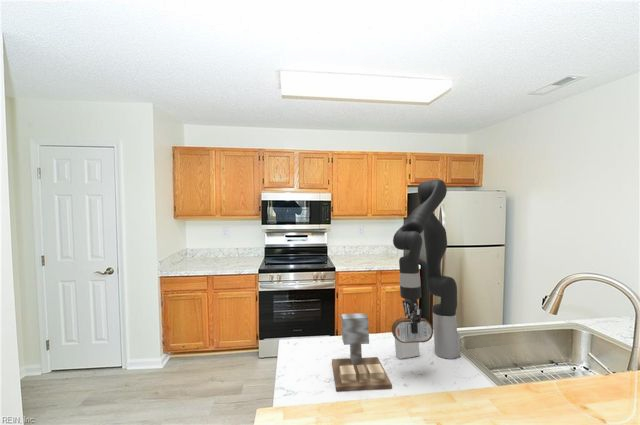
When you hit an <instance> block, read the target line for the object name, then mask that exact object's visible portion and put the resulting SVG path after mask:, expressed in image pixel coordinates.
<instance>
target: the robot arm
mask: <svg viewBox="0 0 640 425" xmlns="http://www.w3.org/2000/svg"><path fill="white" fill-rule="evenodd" d="M447 190H448V189H447V185H446V183H445V181H444V180H442V179H433V180H428V181H422V182H419V184H418V186H417V197H418V202H419V205H418V206H417V207H416V208H415V209H413V211H412V212H410V215H409V217H408V218H407V221H406V222H405V223H403V224H402V226H401V227H399V228H398V230H396V232H395V233H394V235H393V239H392V244H393V246H394V247H395V249H397V250H400V251H401V250H402V251H403V250H404V251H408V255H405V256H401V257H400V258H399V261H398V263H399V264H398V265H399V266H398V267H399V278H398V280H399V296H400V297H401V298H402V299H403V300H402V301H401V303H402V307H403V313H404V315H405V317H406V318H410V320H411V332H412V333H413V334H417V333H418V324H417V323H420V320H421V318H422V315H423V314H422V313H423V310H422V308H420V307H419V303H418V300H419V299H421V298H422V284H421V282H422V281H421V276H420V266H419V265H420V264H419V262H420V255H421V250H422V245H423V240H424V247H425V257H426V258H425V259H426V287H427V290H428V292H429V293H430V294H431V295H432V296H435V297H439V298H440V303H436V304H433V306H432V321H433V323H432V324H433V325H432V327H433V340H434V342H433V343H434V353H435V355H436V356H438V357H440V358H441V359H448V360H449V359H450V360H452V359H458V358H459V357H461V356H462V355H461V341H460V339H461V338H460V333H459V332H458V326H457V325H458V324H457V308H458V285H457V283H456V280H455V279H454V278H453V277H451V276H448V275H447V276H445V275H442V274H441V272H442V271H441V263H442V259H443V257H444V256H445V253H446V251H447V248H448V239H447V238H448V237H447V230H446V228H445V226H444V225H443V224H442V222H441V221H440V220H439V219H438V217H437V216H436V214H435V211H436V209H437V208H438V207H439V206H440V205H441V203H442V202H443V201H444V199H445V198H446V196H447V192H448V191H447ZM422 233H423V238H422V235H421V234H422ZM415 319H416V320H415Z"/></svg>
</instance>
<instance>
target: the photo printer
mask: <svg viewBox="0 0 640 425" xmlns="http://www.w3.org/2000/svg"><path fill="white" fill-rule="evenodd" d="M394 344H395V345H394V347H395V355H396V356H395V357H396V358H397V359H399V360H402V359H408V358H414V357H419V356H420V343H402V342H400V341H398V340H397V339H396V338H395V337H394Z"/></svg>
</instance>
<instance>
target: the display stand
mask: <svg viewBox="0 0 640 425" xmlns="http://www.w3.org/2000/svg"><path fill="white" fill-rule="evenodd" d="M341 338H342V343H343V345H344V346H347V345H349V354H350V356H349V357H350V358H332V359H331V361H332V362H331V364H332V371H333V376H334V382H335V388H336V392H354V391H355V392H356V391H358V392H359V391H375V390H376V391H377V390H392V389H393V383H392V382H391V379H390V378H389V376H388V374H387V373H386V370H385V368H384V367H383V365H382V362H381V361H380V359H379V357H378V356H372V357H371V356H370V357H362V355H363V354H362V353H363V352H362V345H368V344H370V331H369V317H368V315H367V314H366V312H363V313H342V314H341Z"/></svg>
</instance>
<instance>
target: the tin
mask: <svg viewBox="0 0 640 425" xmlns="http://www.w3.org/2000/svg"><path fill="white" fill-rule="evenodd" d="M415 320H416V319H415ZM417 324H418V333H417V334H413V333H412V332H411V320H410V318H407V317H400V318H397V319H396V320H394V321H393V323H392V326H391V333H392V335H393V337H394V339H395V338H396V339H397V340H398V341H400V342H402V343H419V344H420V343H428V342H429V341H430V340H431V339H432V337H434V326H433V325H432V323H431V322H429V321H428V320H427V319H426V318H423V317H421V320H420V323H417Z"/></svg>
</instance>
